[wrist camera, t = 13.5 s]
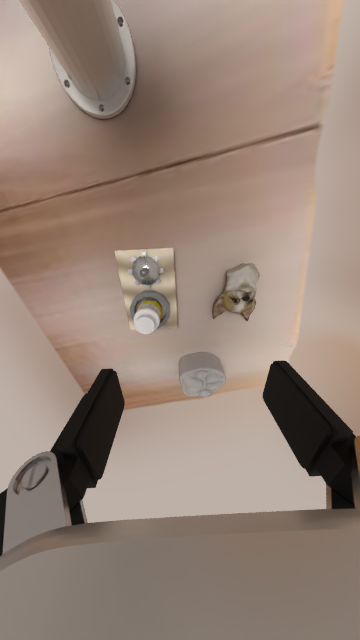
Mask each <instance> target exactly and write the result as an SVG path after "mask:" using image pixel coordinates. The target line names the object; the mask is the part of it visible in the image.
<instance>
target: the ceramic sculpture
mask: <svg viewBox="0 0 360 640" xmlns="http://www.w3.org/2000/svg"><path fill="white" fill-rule="evenodd" d="M226 275H227V284H226V287H225V289H224V293H223V294H221V295H220V296H219V297H218V298H217V299H216V301H215V302H214V305H213V310H212V313H213V319H214V318H215V317H216V316H218V315H220V314H222V313H223V312H224V311H225V310H226V309H228V310H229V311H230V312H233V313H241V314H242V315H243V317H244V318H245V319H246V321H248V319H249V316H250V314H251V313H252V311H253V310H254V308H255V304H256V302H255V299H254V297H255V295H256V282H257V280H258V279H259V277H260V275H259V272H258V270H257V268H256V267H255V265H254V264H240V265H239V266H237V267H235V268H232V269H229V270H228V271H227V273H226Z"/></svg>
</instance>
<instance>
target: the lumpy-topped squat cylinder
mask: <svg viewBox="0 0 360 640" xmlns="http://www.w3.org/2000/svg"><path fill="white" fill-rule="evenodd" d="M179 380H180V383H181V384H182V390H183V393H184V394H185V395H187V396H201V397H207V396H209V395H210V394H211V393H213V392H215V391H217V390H218V389H220V388H221V387H222V386H223V385H224V383H225V381H226V376H225V373H224V371H223V368H222V365H221V363H220V360H219V358H218V357H216V356H215V355H213V354H210V353H206V352H198V353H193V354H189V355H185V356H183V357H182V358H181V359H180V360H179Z"/></svg>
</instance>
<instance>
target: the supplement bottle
mask: <svg viewBox="0 0 360 640" xmlns="http://www.w3.org/2000/svg"><path fill="white" fill-rule="evenodd" d="M161 313H162V306H161V304H160V303H159V302H158V301H157V300H156V299H153V298H148V299H145V300H144V301H143V302H142V303H141V305H140V306H139V308H138V310H137V312H136V313H135V316H134V324H135V328H136V330H137V331H138V332H139V333H141V334H150V333H152V332H153V331H154V330H155V329H157V327H158V326H159V323H160V318H161Z"/></svg>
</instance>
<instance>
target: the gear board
mask: <svg viewBox="0 0 360 640" xmlns="http://www.w3.org/2000/svg"><path fill="white" fill-rule="evenodd" d="M141 252H147V256H150V257H152V258H154V256H155V255H156V256H157V257H158V258H159V259H158V260H157V262H158V264H159V266H160V267H164V272H163V273H160V276H159V279H160V280H161V282H160V283H159V284H157V283H156V282H155V283H153V284H151V288H147V289H146V285H143V284H140V283H139V284H138V285H136V284H135V283H134V282H135V278H134V277H133V274H129V273H128V269H132V264H133V262H131V261H130V259H131V258H132V257H133V256H134V257H135V258H136V259H137V258H138V257H141V256H142V255H141ZM115 256H116V261H117V266H118V271H119V276H120V281H121V286H122V291H123V296H124V301H125V306H126V311H127V316H128V321H129V326H130V330H136V328H135V324H134V320H133V319H132V318H131V314H130V306H131V303H132V301H133V299H134V298H135V296H136V295H138V294H139V293H141V292H142V291H144V290H154V291H157V292H160V293H162V294H164V296H165V297H166V298H167V300H168V301H169V303H170V317H169V319H168V321H167V323H166V324H165V325H164V326H162V327H160V328H159V329H162V328H178V322H177V304H176V286H175V269H174V251H173V248H159V249H138V250H117V251H115ZM148 298H153V297H144V298H142V299H141V300H139V301H138V302H137V305H136V308H137V310H138V308H139V306H140V305H141V303H142V302H143V301H144V300H145V299H148ZM153 299H156V298H153ZM156 300H157V301H158V302H159V303H160V304H161V306H162V313H161V318H160V319H162V318H163V317H164V315H165V313H166V310H165V306H164V305H163V304H162V302H161V301H160V300H158V299H156Z"/></svg>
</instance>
